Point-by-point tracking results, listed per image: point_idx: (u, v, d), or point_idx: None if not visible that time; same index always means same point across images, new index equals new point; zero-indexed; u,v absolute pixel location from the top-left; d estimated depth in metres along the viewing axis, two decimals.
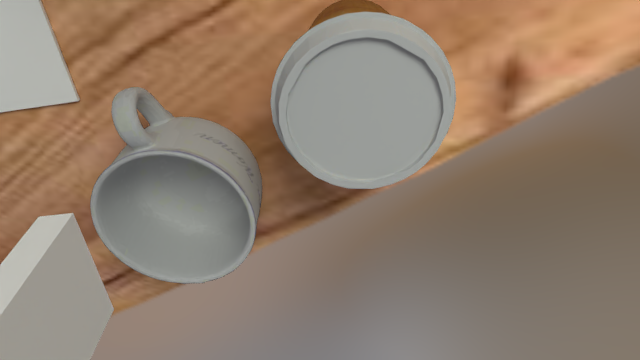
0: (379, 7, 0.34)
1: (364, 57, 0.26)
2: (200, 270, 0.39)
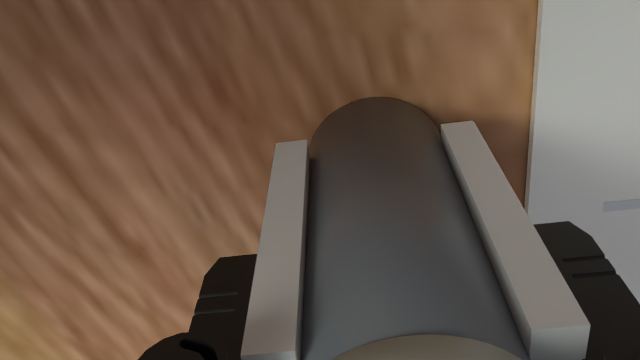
0: None
1: None
2: None
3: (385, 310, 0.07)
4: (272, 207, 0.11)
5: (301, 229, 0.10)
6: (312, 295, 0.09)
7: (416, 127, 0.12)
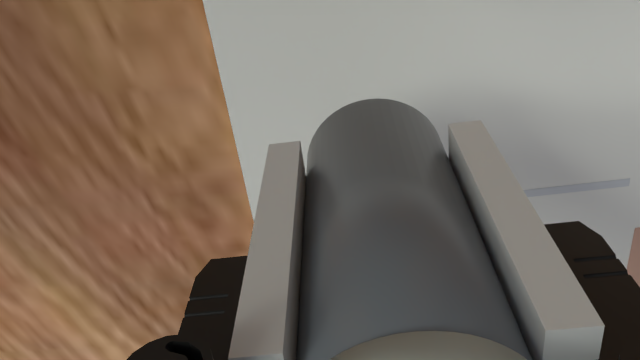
0: None
1: None
2: None
3: (387, 308, 0.07)
4: (263, 209, 0.11)
5: (292, 231, 0.10)
6: (315, 292, 0.09)
7: (415, 128, 0.13)
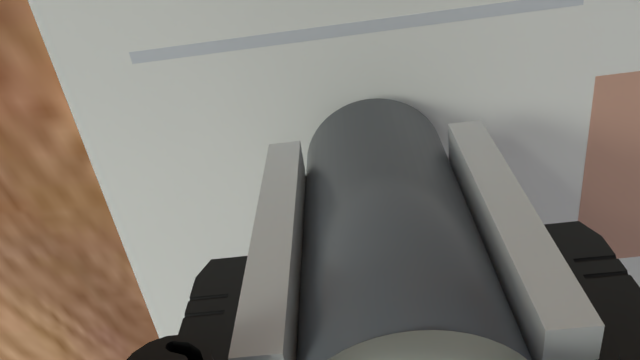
0: None
1: None
2: None
3: (387, 306, 0.07)
4: (263, 209, 0.11)
5: (292, 231, 0.10)
6: (314, 292, 0.09)
7: (415, 128, 0.13)
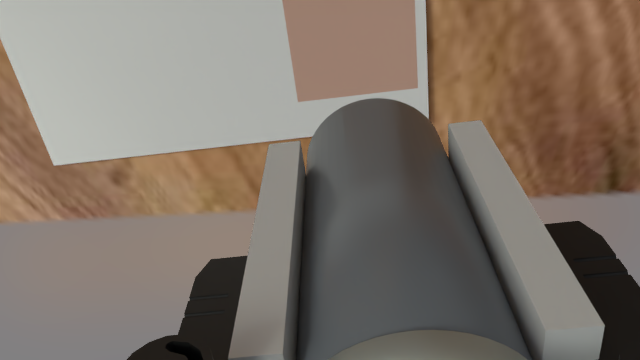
0: None
1: None
2: None
3: (387, 306, 0.07)
4: (264, 209, 0.11)
5: (292, 231, 0.10)
6: (315, 292, 0.09)
7: (415, 128, 0.13)
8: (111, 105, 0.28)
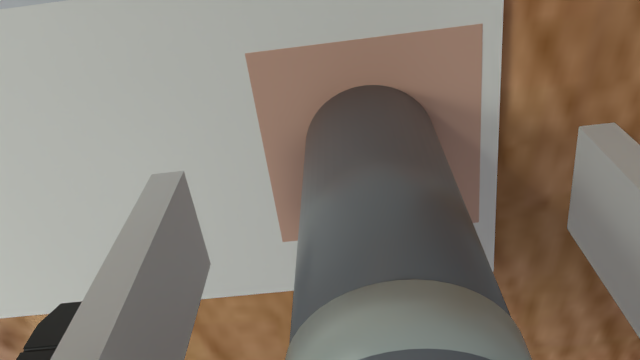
0: None
1: None
2: None
3: (374, 261, 0.08)
4: (117, 250, 0.10)
5: (136, 277, 0.09)
6: (310, 254, 0.09)
7: (407, 111, 0.13)
8: None
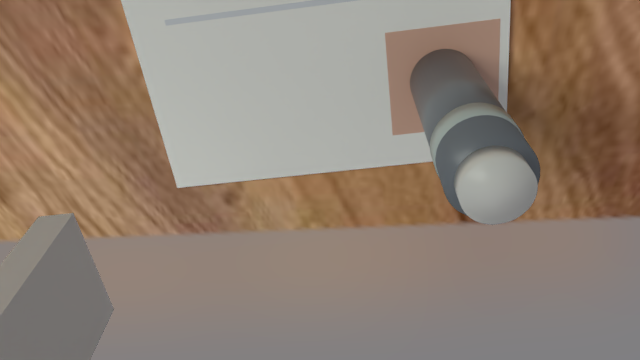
0: None
1: None
2: None
3: (464, 100, 0.23)
4: None
5: None
6: (434, 106, 0.24)
7: (465, 59, 0.28)
8: (232, 137, 0.32)
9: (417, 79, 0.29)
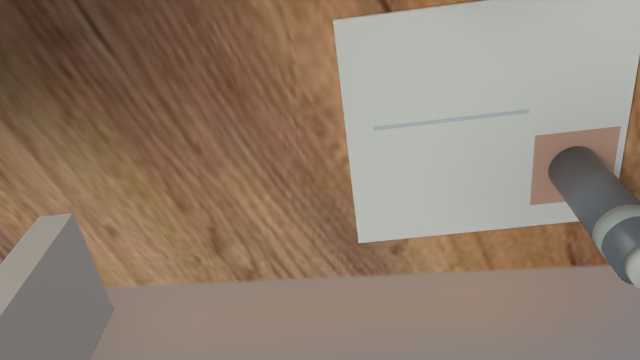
0: None
1: None
2: None
3: (618, 201, 0.34)
4: None
5: None
6: (591, 201, 0.35)
7: (596, 157, 0.39)
8: (408, 207, 0.43)
9: (561, 171, 0.39)
